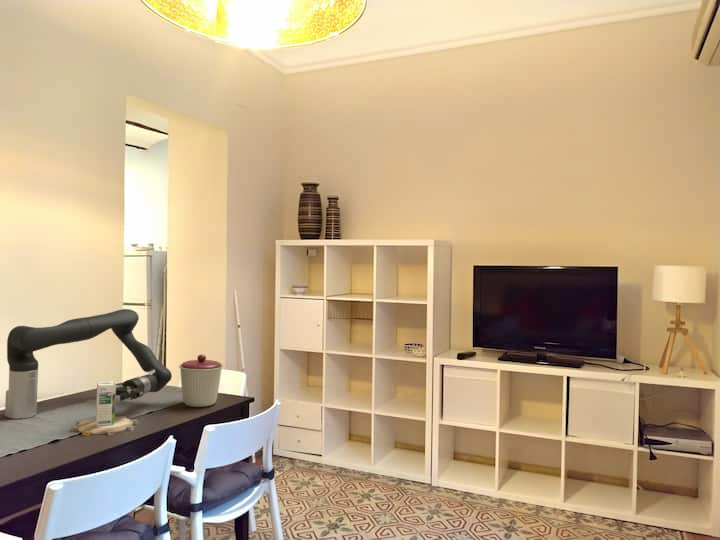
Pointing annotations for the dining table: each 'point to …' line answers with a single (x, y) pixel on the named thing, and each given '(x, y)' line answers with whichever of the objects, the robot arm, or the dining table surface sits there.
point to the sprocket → (104, 426)
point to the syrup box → (105, 403)
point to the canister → (200, 381)
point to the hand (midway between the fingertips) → (110, 396)
